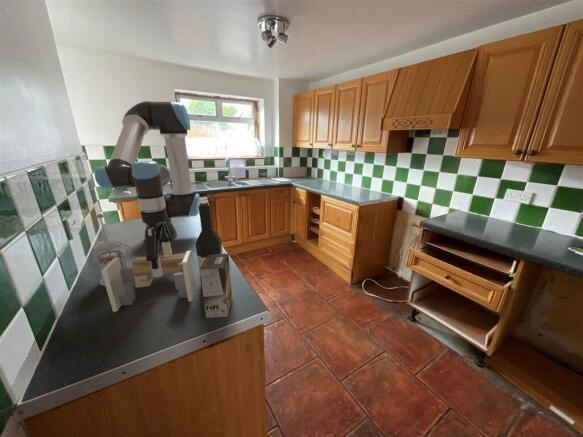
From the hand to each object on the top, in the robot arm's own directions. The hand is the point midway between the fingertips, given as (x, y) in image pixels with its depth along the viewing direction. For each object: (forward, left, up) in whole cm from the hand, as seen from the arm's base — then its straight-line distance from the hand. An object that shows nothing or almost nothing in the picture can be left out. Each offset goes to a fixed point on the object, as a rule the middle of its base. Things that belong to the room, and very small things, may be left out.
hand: (163, 266), depth 86 cm
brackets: (+11, 0, -6) cm, 12 cm away
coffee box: (+20, +20, -6) cm, 29 cm away
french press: (-6, -18, -6) cm, 20 cm away
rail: (0, 0, -2) cm, 2 cm away
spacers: (0, 0, -6) cm, 6 cm away
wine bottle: (+6, +17, -6) cm, 19 cm away
